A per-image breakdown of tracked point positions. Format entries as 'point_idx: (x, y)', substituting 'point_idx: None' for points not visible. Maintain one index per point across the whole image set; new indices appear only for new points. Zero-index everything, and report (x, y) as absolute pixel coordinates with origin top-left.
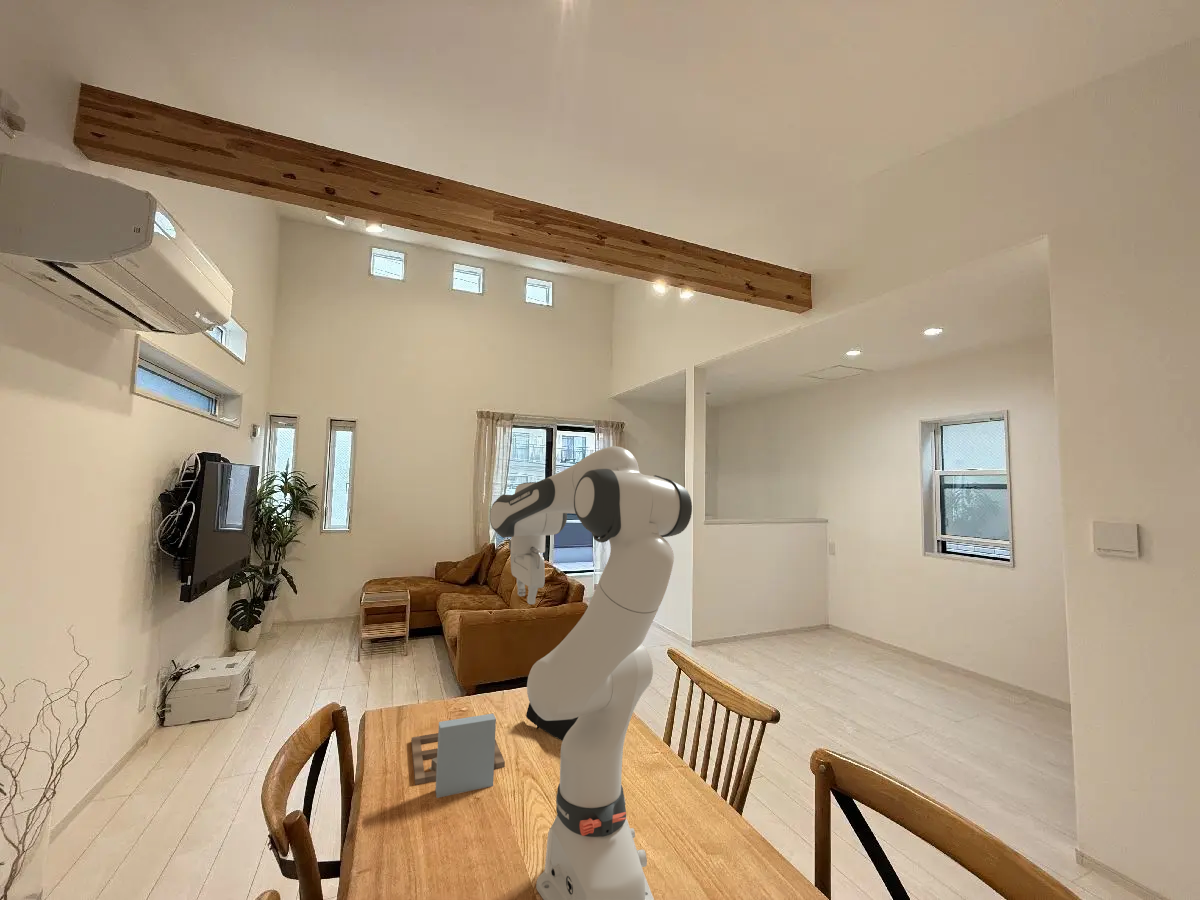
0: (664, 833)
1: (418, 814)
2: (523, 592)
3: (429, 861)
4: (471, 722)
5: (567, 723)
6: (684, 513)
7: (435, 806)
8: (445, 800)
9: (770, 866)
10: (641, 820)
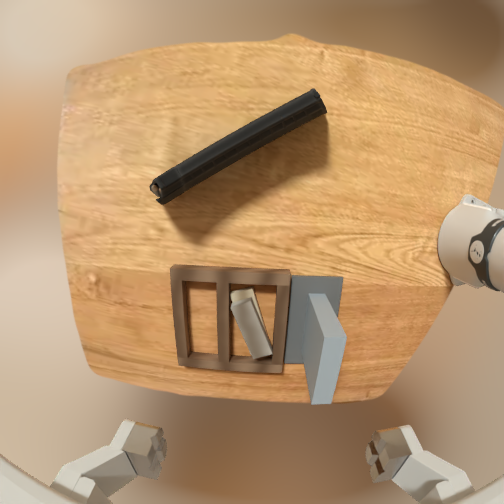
0: (453, 148)
1: None
2: (155, 448)
3: (387, 356)
4: (338, 370)
5: (242, 152)
6: None
7: None
8: None
9: (493, 106)
10: (434, 155)
